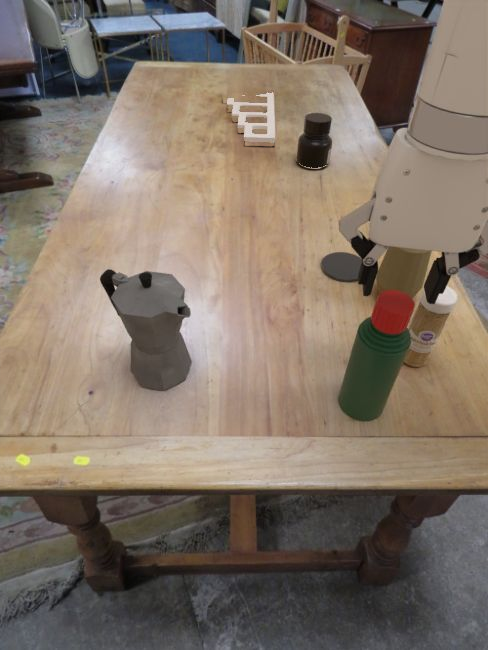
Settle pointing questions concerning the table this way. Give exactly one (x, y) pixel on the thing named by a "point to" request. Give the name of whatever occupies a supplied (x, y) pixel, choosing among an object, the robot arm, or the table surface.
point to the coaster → (341, 266)
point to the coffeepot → (152, 325)
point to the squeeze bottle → (403, 270)
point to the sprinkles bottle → (428, 326)
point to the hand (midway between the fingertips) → (397, 290)
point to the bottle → (372, 371)
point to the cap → (392, 311)
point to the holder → (250, 126)
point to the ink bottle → (315, 141)
